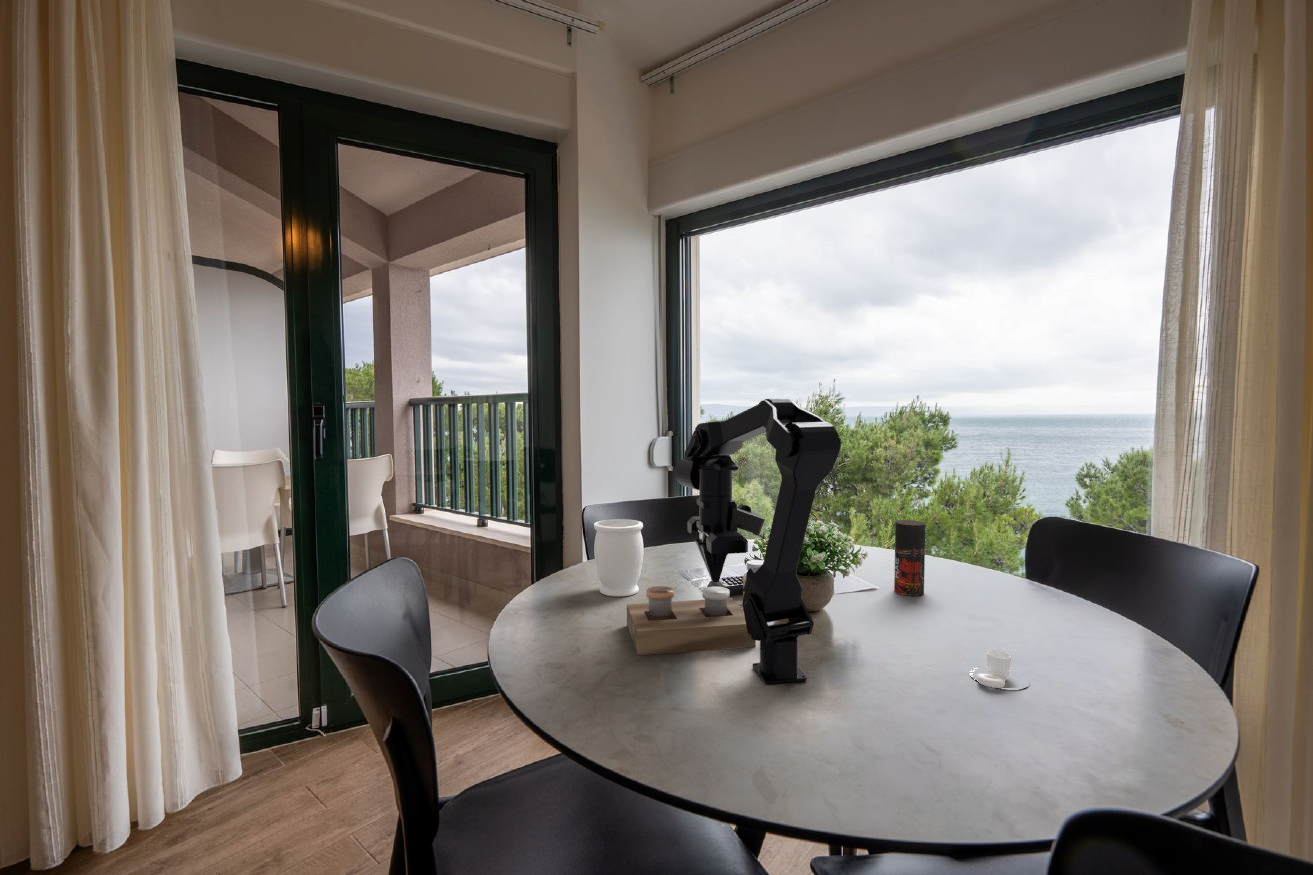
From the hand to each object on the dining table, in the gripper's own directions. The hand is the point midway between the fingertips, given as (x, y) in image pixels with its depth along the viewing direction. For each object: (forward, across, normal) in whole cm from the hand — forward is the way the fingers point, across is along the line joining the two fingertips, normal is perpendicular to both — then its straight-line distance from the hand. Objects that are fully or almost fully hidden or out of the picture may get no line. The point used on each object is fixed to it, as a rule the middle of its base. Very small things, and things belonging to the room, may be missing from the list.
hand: (715, 581), depth 114 cm
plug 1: (+5, 0, +10) cm, 11 cm away
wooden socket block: (+9, 0, +5) cm, 11 cm away
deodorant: (+10, +16, -47) cm, 51 cm away
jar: (+10, +28, +14) cm, 33 cm away
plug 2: (+5, 0, 0) cm, 6 cm away
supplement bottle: (+10, +10, -11) cm, 18 cm away
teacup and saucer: (+10, -24, -34) cm, 43 cm away
